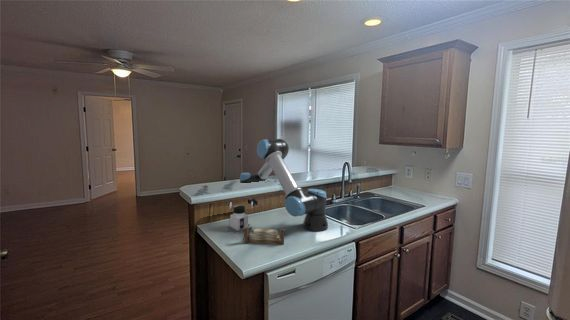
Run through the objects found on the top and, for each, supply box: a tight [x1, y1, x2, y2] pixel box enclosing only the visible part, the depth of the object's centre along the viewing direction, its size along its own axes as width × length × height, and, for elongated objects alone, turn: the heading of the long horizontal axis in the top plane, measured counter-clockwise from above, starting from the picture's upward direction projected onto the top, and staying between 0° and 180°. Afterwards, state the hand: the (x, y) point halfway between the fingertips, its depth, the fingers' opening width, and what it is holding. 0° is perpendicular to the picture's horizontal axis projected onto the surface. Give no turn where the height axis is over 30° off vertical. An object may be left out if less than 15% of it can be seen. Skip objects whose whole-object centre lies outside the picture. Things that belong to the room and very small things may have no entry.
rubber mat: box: [227, 223, 251, 233], centre depth 158 cm, size 11×11×1 cm
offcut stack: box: [249, 228, 280, 241], centre depth 141 cm, size 16×5×4 cm, turn 88°
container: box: [229, 204, 249, 231], centre depth 157 cm, size 8×8×13 cm
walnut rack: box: [243, 226, 285, 246], centre depth 146 cm, size 21×17×8 cm
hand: (240, 206), depth 166 cm, fingers open, 13 cm apart
